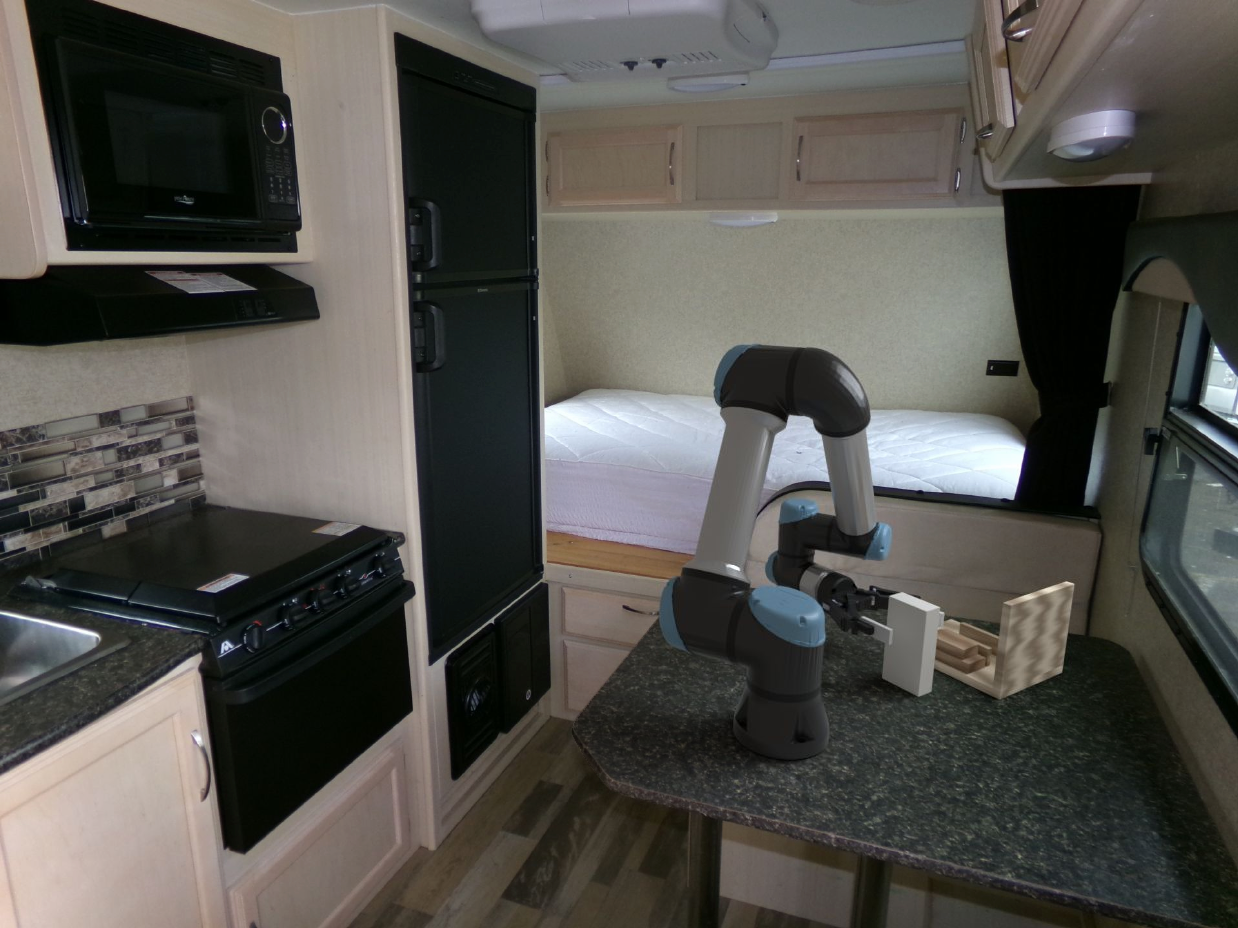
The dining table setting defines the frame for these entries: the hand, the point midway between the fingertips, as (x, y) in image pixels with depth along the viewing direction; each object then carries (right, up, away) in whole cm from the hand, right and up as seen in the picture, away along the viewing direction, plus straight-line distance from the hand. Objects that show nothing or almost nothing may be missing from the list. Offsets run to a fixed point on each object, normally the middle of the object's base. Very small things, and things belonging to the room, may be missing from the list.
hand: (917, 628), depth 145 cm
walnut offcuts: (+10, -8, +9) cm, 16 cm away
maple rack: (+15, -8, +13) cm, 22 cm away
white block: (-1, -11, +3) cm, 11 cm away
